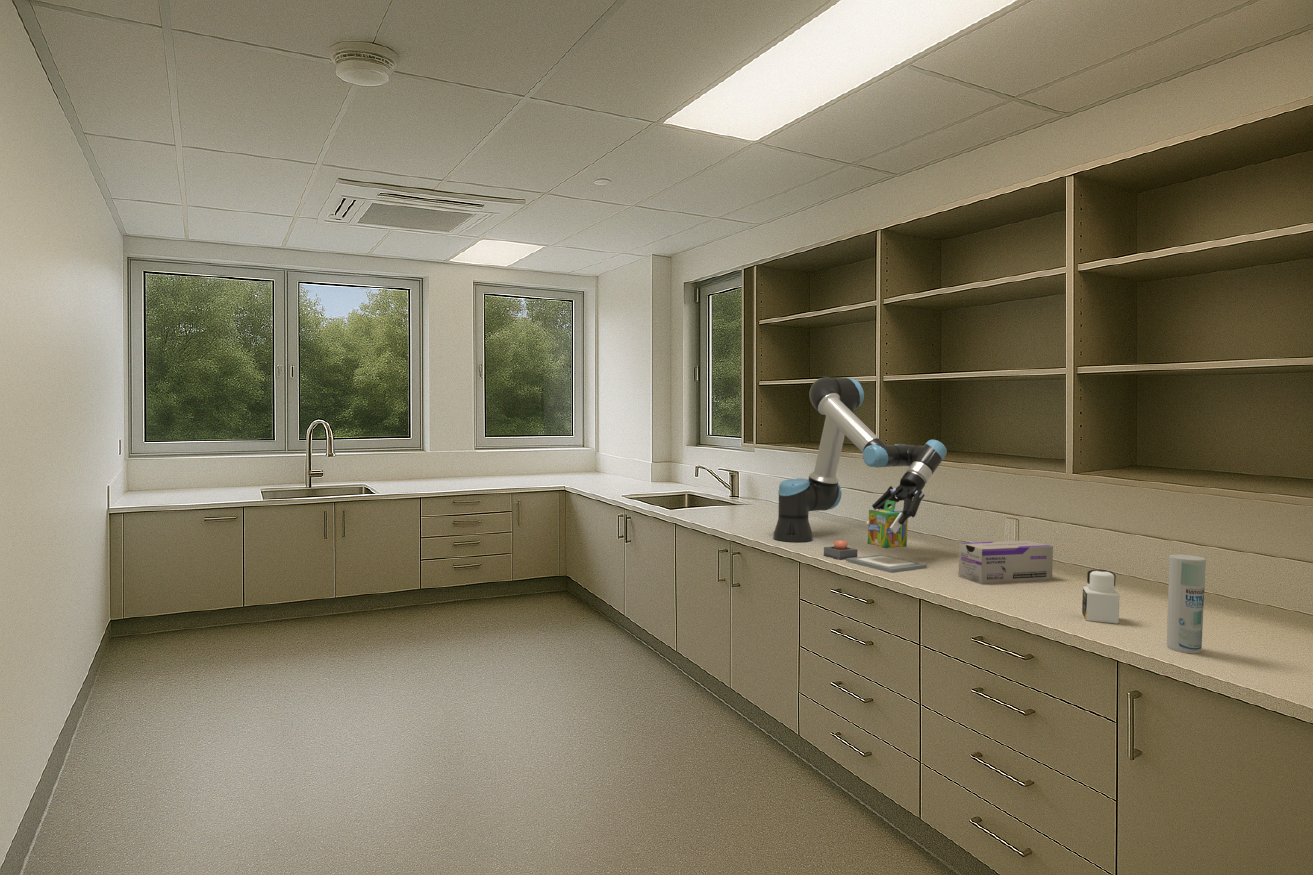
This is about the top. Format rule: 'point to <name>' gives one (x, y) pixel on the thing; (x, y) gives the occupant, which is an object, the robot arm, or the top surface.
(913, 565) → the board
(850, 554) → the button housing
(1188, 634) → the spray can
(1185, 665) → the top surface
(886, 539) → the chalk box
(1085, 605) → the medicine bottle
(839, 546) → the button
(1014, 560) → the surgical sutures box
